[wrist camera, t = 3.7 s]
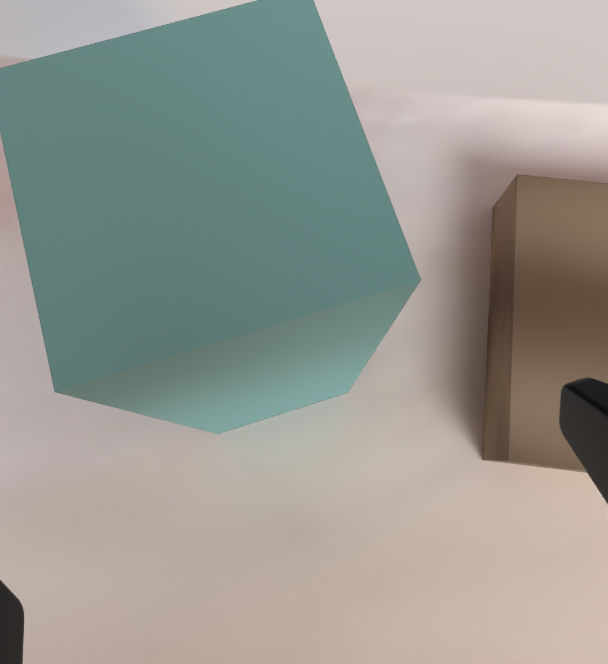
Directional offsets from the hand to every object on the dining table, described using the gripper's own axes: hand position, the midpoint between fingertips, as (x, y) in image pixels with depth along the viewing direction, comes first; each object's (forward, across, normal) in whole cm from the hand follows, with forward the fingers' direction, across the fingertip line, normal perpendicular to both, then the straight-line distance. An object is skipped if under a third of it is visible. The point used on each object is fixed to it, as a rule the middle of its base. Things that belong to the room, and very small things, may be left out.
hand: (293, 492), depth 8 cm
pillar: (+11, 0, +5) cm, 12 cm away
